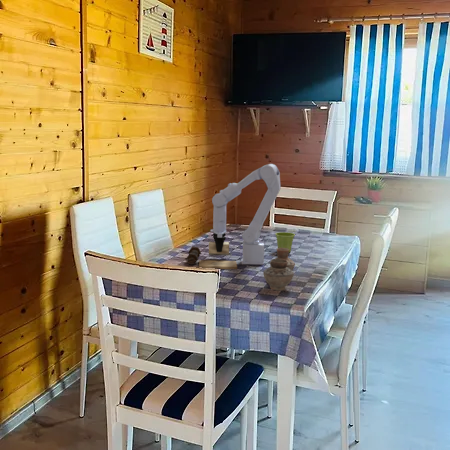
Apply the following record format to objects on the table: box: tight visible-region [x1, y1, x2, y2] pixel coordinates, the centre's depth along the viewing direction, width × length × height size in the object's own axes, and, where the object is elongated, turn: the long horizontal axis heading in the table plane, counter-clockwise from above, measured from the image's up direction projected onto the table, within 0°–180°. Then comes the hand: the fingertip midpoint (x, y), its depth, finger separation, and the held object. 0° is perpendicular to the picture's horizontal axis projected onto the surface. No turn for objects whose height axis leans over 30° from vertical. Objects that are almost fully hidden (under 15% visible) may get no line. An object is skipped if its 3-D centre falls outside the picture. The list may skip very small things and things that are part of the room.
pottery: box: [262, 247, 296, 292], centre depth 209 cm, size 11×25×12 cm, turn 169°
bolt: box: [186, 246, 202, 265], centre depth 240 cm, size 6×5×15 cm
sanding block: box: [208, 241, 230, 257], centre depth 244 cm, size 9×5×5 cm, turn 92°
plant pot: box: [274, 231, 296, 253], centre depth 263 cm, size 9×9×9 cm
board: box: [198, 259, 238, 270], centre depth 233 cm, size 16×10×1 cm, turn 92°
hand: (219, 250), depth 244 cm, fingers closed on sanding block, 5 cm apart
